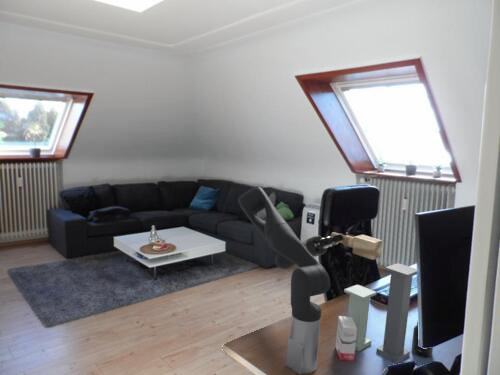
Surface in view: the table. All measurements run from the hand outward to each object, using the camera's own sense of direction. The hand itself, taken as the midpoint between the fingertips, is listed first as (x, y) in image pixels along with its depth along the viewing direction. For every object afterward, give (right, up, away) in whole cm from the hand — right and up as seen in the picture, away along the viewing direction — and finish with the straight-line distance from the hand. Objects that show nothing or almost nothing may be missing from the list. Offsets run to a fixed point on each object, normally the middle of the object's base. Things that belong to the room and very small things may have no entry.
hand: (345, 236), depth 143 cm
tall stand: (+15, -40, -6) cm, 43 cm away
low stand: (+4, -39, -1) cm, 39 cm away
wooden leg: (+2, -5, -2) cm, 6 cm away
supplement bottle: (+26, -41, -5) cm, 48 cm away
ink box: (-2, -40, -8) cm, 41 cm away
